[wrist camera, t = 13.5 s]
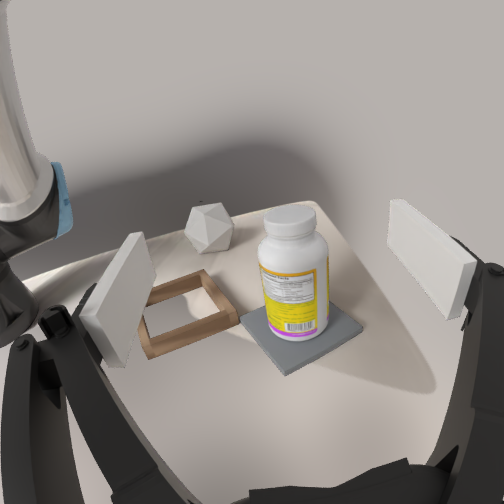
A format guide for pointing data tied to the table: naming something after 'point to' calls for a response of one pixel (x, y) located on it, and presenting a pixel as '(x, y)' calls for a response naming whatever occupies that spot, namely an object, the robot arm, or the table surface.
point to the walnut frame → (192, 330)
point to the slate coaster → (300, 352)
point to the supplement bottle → (294, 273)
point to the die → (209, 228)
